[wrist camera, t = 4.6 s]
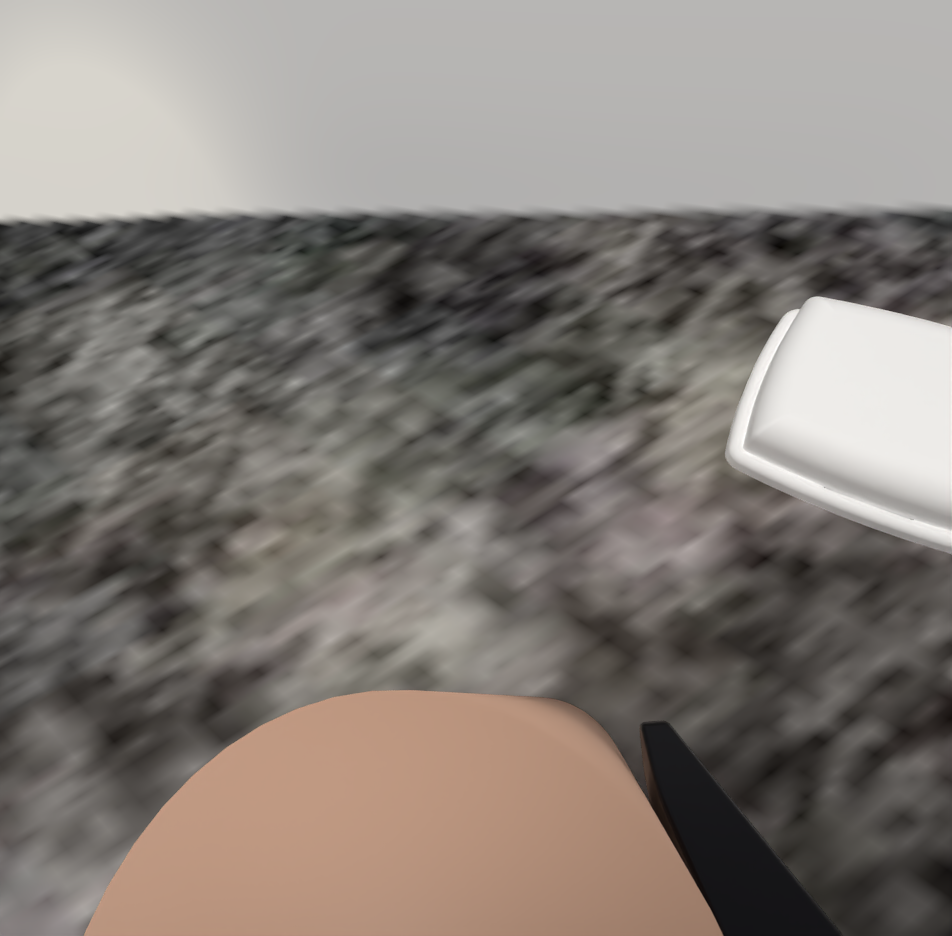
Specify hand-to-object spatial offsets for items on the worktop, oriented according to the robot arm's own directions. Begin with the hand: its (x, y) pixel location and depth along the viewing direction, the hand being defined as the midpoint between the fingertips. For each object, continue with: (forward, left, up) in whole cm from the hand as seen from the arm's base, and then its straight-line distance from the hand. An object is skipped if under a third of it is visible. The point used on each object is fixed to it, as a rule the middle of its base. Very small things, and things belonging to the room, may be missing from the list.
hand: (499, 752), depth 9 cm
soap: (+14, -3, -10) cm, 18 cm away
